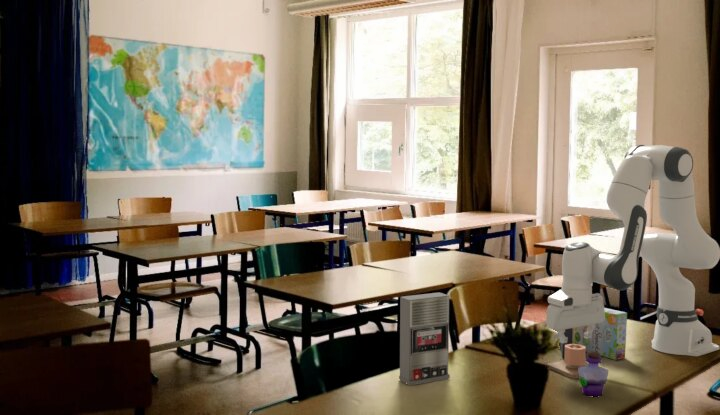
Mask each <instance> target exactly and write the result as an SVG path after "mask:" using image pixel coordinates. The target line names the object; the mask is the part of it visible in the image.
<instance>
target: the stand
mask: <svg viewBox="0 0 720 415" xmlns="http://www.w3.org/2000/svg"><path fill="white" fill-rule="evenodd" d="M573 348H577V347H573ZM546 365H547V366H549V370H551V369H552V370H551V371H553V370H554V371H553V372H555V371H556V372H555V373H557V374H561V375H563V376H565V377H568V378H570V379H572V380H573V379H578V378H579V373H578V368H579V367H581V366H587V365H588V362H586V361H585V365H581V366H574V365H568V364H566V363H564V360H560V361H555V362H554V361H553V362H548V363H545V366H546ZM579 379H580V378H579Z"/></svg>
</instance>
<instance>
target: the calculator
mask: <svg viewBox="0 0 720 415" xmlns="http://www.w3.org/2000/svg"><path fill="white" fill-rule="evenodd" d="M564 335H565V337H568V340H567V341H568V342H567V343H560V353H561V354H562V355H561V354H560V355H561V358H562V360H564V355H565V345H567V344H574V335H575V333H574V328H570V329H565V333H564Z"/></svg>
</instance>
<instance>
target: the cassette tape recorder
mask: <svg viewBox="0 0 720 415" xmlns="http://www.w3.org/2000/svg"><path fill="white" fill-rule="evenodd" d="M399 298H400V301H399V302H400V306H399V307H400V308H399V309H400V310H399V313H400V316H399V317H400V320H399V323H400V324H399V328H400V329H399V376H398V380H399V379H400V380H399V381H401V380H402V381H404V382H405V383H404V382H403V383H404V384H406V383H407V384H406V385H408V386H409V385H412V386H415V385H420V384H425V383H426V384H427V383H431V382H437V381H443V380H449V379H450V378H451V376H450V374H449V344H450V343H449V341H450V340H449V338H450V337H449V335H450V333H449V330H450V325H449V324H450V294H445V293H443V292H432V293H423V294H421V293H420V294H413V295H405V296H400V297H399ZM402 381H401V382H402Z"/></svg>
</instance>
